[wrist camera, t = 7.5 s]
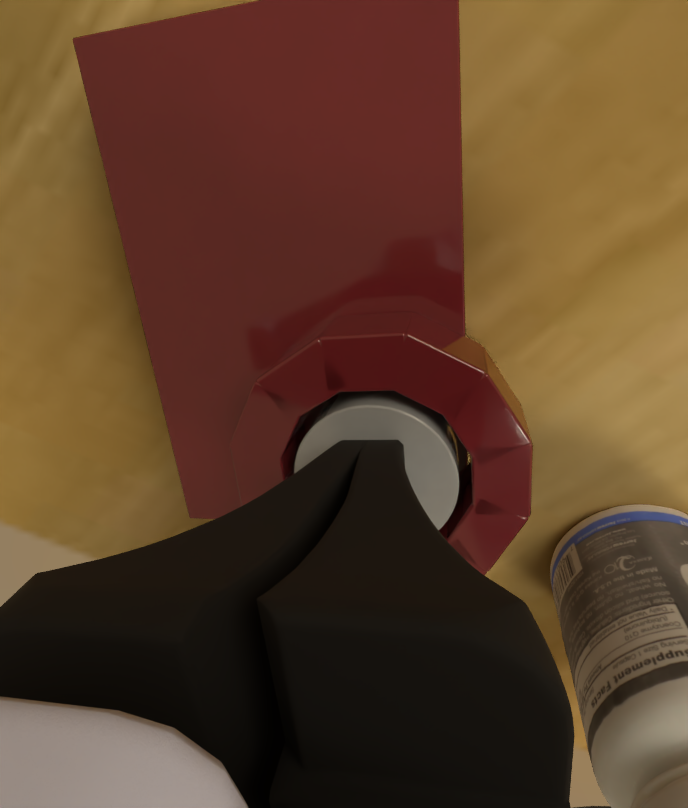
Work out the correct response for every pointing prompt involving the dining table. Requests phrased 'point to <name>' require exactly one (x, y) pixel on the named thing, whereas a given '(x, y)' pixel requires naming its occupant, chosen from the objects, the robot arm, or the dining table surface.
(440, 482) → the light grey cylinder
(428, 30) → the red socket plate
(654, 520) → the pill bottle
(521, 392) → the dining table surface
